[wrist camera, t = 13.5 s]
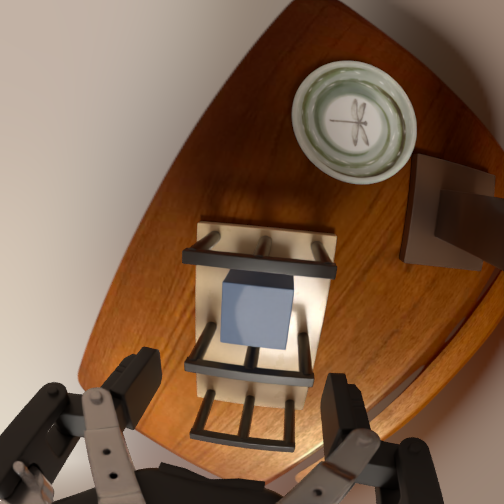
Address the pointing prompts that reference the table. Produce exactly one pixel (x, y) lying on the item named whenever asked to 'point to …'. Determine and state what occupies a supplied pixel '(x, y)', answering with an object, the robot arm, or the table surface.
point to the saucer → (354, 122)
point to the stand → (452, 216)
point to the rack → (247, 357)
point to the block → (256, 309)
